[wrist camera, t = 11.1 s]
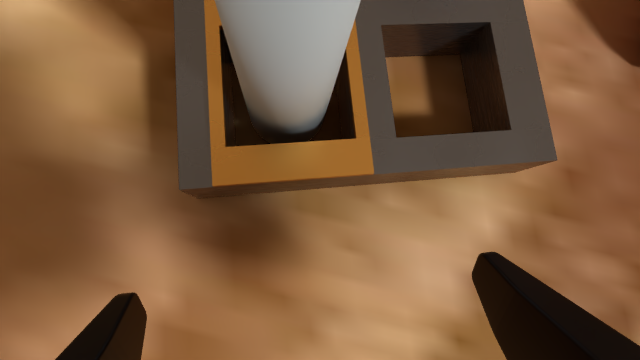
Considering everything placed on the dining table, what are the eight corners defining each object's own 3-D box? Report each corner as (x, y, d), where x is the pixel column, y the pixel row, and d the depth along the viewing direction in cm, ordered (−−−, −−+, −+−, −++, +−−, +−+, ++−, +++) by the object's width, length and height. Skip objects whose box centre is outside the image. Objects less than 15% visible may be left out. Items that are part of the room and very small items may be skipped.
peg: (335, 133, 18) (433, -83, 6) (263, 157, 18) (212, -28, 5) (309, 67, 19) (352, -256, 7) (239, 88, 18) (141, -224, 6)
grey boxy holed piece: (515, 172, 19) (562, 158, 16) (197, 198, 17) (176, 188, 14) (487, 28, 20) (525, -12, 17) (191, 37, 18) (171, -6, 15)
